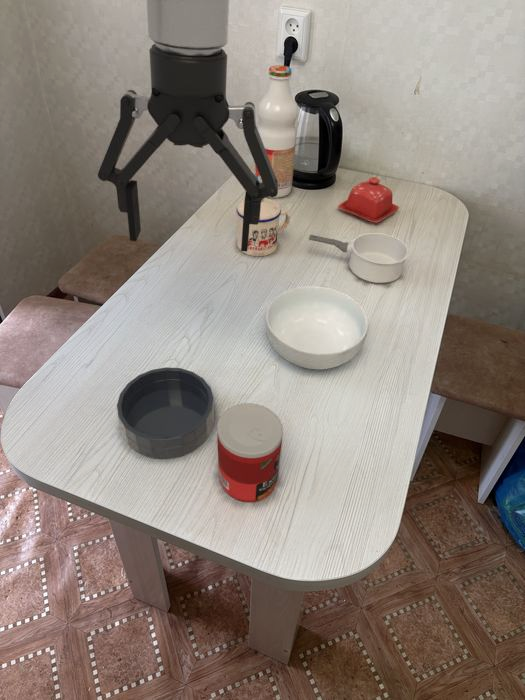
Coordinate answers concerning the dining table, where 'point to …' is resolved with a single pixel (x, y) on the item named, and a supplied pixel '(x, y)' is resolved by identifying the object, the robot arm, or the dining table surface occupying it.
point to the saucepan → (373, 255)
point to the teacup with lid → (262, 228)
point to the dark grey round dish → (166, 412)
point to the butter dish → (370, 201)
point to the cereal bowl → (316, 326)
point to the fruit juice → (279, 127)
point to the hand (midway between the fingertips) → (190, 241)
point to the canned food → (249, 451)
